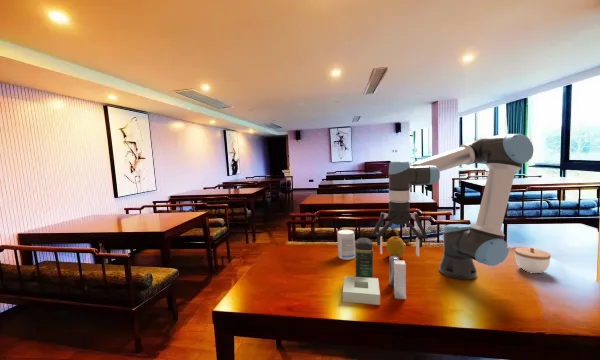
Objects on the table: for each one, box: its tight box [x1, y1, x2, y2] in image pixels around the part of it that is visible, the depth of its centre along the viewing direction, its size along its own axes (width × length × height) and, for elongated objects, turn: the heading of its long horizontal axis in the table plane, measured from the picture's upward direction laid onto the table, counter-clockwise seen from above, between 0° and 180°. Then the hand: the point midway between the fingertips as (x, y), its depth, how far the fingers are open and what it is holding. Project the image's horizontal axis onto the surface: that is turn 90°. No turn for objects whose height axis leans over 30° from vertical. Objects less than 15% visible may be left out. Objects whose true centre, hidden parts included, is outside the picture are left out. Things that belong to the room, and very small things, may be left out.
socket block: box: [342, 275, 381, 306], centre depth 107 cm, size 14×14×4 cm
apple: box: [386, 236, 406, 259], centre depth 145 cm, size 10×10×12 cm
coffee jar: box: [355, 237, 374, 278], centre depth 120 cm, size 10×8×19 cm
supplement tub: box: [336, 229, 356, 261], centre depth 147 cm, size 10×10×15 cm
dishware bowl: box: [514, 247, 551, 274], centre depth 123 cm, size 13×13×11 cm
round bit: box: [388, 255, 400, 287], centre depth 114 cm, size 4×4×12 cm
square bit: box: [393, 259, 407, 300], centre depth 104 cm, size 4×4×14 cm
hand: (399, 254), depth 103 cm, fingers open, 13 cm apart
